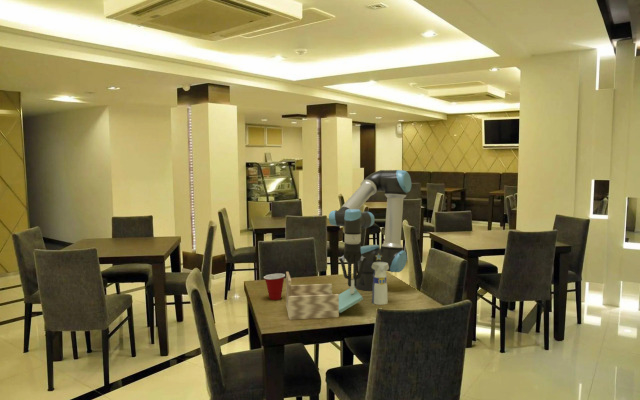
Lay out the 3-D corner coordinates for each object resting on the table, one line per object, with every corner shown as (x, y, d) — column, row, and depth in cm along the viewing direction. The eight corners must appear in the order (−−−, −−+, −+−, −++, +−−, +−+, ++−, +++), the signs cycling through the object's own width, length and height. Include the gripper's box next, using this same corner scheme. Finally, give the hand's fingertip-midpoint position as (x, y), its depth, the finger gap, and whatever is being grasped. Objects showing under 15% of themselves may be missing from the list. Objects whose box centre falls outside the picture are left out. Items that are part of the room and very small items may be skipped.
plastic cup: (265, 295, 243) (265, 272, 242) (286, 295, 243) (286, 272, 242) (262, 301, 232) (262, 277, 232) (284, 301, 232) (283, 277, 231)
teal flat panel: (334, 302, 227) (355, 289, 228) (341, 314, 208) (364, 300, 209) (332, 298, 227) (353, 285, 228) (338, 310, 208) (362, 296, 209)
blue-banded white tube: (391, 304, 226) (391, 253, 224) (374, 305, 225) (374, 253, 223) (386, 299, 234) (386, 250, 233) (369, 300, 233) (369, 250, 231)
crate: (331, 304, 227) (331, 269, 226) (338, 317, 208) (338, 279, 206) (286, 306, 224) (285, 271, 223) (289, 319, 205) (288, 281, 204)
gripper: (340, 244, 212) (339, 295, 213) (368, 243, 214) (367, 294, 215) (337, 241, 219) (336, 291, 221) (364, 241, 221) (363, 290, 222)
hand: (352, 293), depth 218 cm, fingers closed
